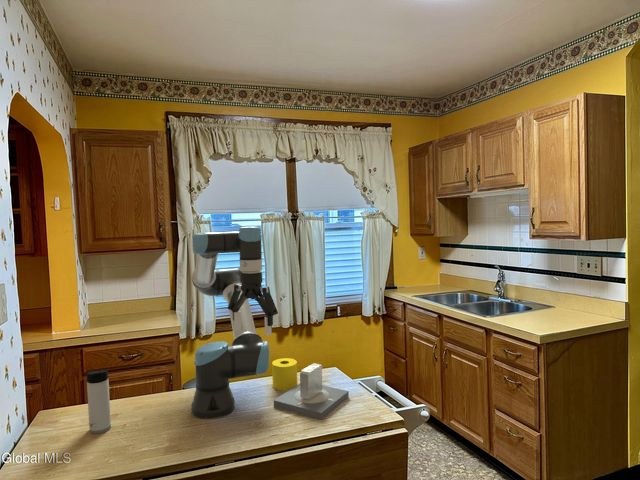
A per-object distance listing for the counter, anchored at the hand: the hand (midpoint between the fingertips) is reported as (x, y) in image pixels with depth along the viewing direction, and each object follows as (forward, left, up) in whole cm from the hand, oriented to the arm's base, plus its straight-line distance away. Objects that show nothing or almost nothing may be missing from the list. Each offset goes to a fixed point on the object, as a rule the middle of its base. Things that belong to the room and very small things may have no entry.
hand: (252, 332), depth 150 cm
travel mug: (-37, -34, -29) cm, 58 cm away
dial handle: (+13, +17, -26) cm, 33 cm away
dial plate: (+13, +17, -29) cm, 36 cm away
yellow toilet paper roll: (-5, +25, -29) cm, 39 cm away
